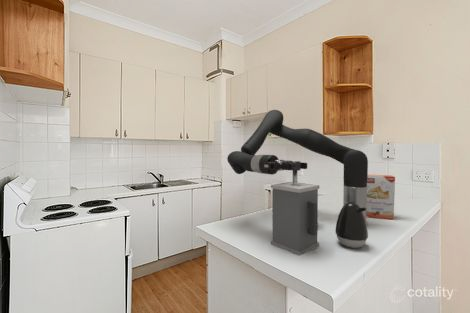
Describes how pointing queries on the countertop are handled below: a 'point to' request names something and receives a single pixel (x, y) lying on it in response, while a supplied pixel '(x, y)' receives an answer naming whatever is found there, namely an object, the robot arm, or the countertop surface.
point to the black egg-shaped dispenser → (351, 226)
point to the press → (295, 217)
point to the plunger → (295, 171)
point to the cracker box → (380, 196)
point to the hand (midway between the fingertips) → (299, 166)
